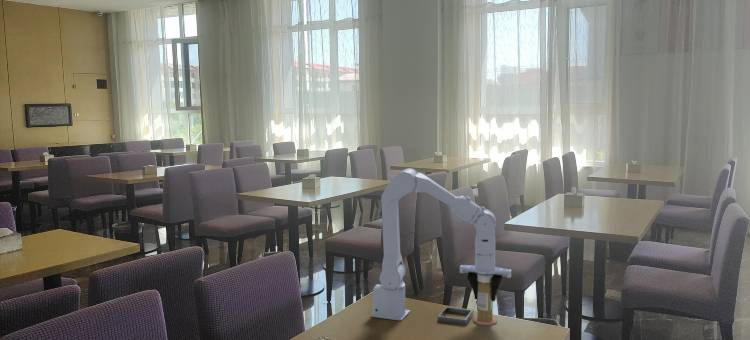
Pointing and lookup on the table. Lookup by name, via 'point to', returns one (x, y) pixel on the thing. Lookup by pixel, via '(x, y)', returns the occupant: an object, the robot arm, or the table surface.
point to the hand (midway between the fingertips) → (485, 299)
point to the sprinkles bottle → (484, 297)
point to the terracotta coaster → (484, 321)
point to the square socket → (455, 320)
